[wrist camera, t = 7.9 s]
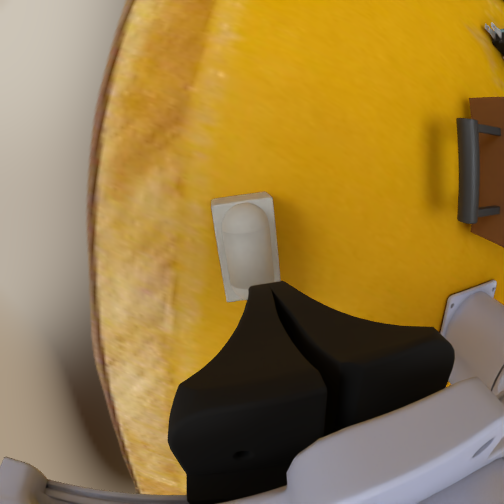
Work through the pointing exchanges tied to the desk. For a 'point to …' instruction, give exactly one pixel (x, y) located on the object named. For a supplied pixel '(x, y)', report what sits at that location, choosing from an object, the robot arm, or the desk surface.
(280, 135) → the desk surface
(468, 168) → the drawer
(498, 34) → the push button
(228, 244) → the capsule relief tile
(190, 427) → the robot arm
